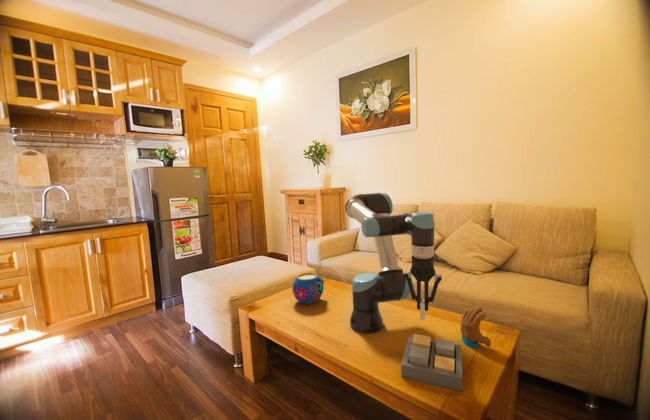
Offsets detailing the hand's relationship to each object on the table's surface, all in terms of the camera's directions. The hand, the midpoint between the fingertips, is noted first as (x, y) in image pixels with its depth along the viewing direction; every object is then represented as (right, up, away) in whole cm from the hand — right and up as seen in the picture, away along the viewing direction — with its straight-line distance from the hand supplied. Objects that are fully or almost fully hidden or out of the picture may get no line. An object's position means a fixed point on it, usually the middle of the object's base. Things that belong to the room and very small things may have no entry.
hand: (422, 317), depth 101 cm
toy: (+23, -14, +8) cm, 28 cm away
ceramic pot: (-45, -13, +56) cm, 73 cm away
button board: (+2, -16, -3) cm, 16 cm away
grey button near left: (-3, -13, -5) cm, 15 cm away
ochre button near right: (+4, -15, -9) cm, 18 cm away
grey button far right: (+8, -12, -2) cm, 15 cm away
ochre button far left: (0, -12, +2) cm, 13 cm away
